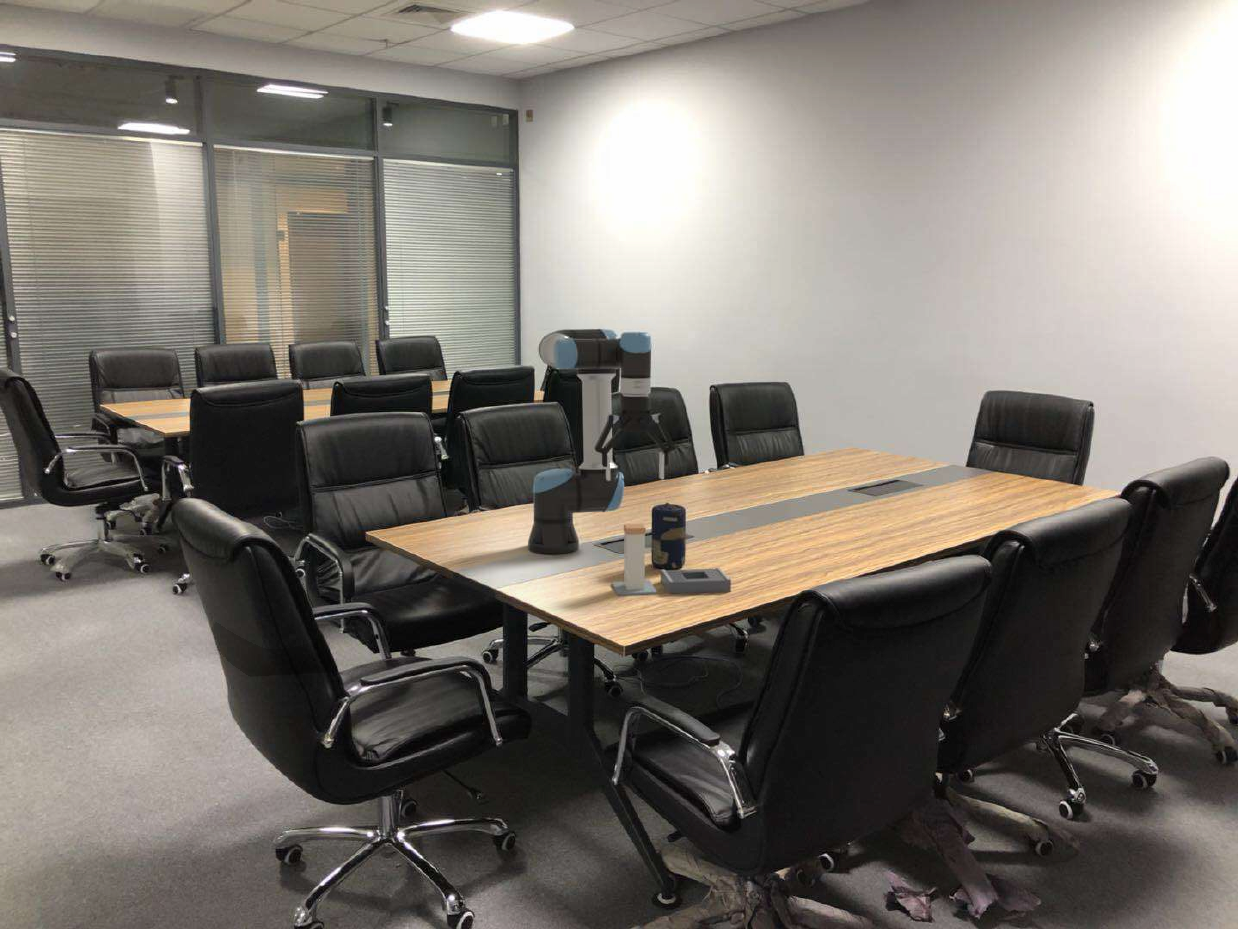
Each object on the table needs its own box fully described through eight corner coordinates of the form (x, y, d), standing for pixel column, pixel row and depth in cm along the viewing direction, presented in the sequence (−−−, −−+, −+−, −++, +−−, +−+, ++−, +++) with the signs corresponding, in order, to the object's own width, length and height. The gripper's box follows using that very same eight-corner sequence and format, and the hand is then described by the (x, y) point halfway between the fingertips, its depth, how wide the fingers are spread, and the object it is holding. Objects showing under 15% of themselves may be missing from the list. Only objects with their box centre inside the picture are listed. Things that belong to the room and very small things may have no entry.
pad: (617, 595, 243) (617, 593, 243) (612, 584, 253) (612, 582, 253) (657, 594, 245) (657, 591, 245) (649, 582, 255) (649, 580, 254)
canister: (683, 561, 275) (684, 499, 272) (687, 570, 266) (688, 506, 263) (650, 561, 275) (650, 499, 272) (652, 571, 266) (652, 506, 262)
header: (669, 594, 245) (669, 581, 244) (660, 581, 255) (660, 569, 255) (730, 591, 247) (730, 579, 247) (719, 579, 258) (720, 567, 257)
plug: (626, 590, 246) (626, 528, 243) (623, 584, 251) (623, 524, 248) (645, 589, 247) (645, 527, 244) (641, 583, 251) (642, 523, 249)
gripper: (587, 396, 235) (587, 483, 239) (687, 395, 239) (686, 480, 242) (583, 393, 242) (583, 477, 246) (681, 392, 246) (680, 475, 250)
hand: (634, 479), depth 244 cm, fingers open, 13 cm apart
